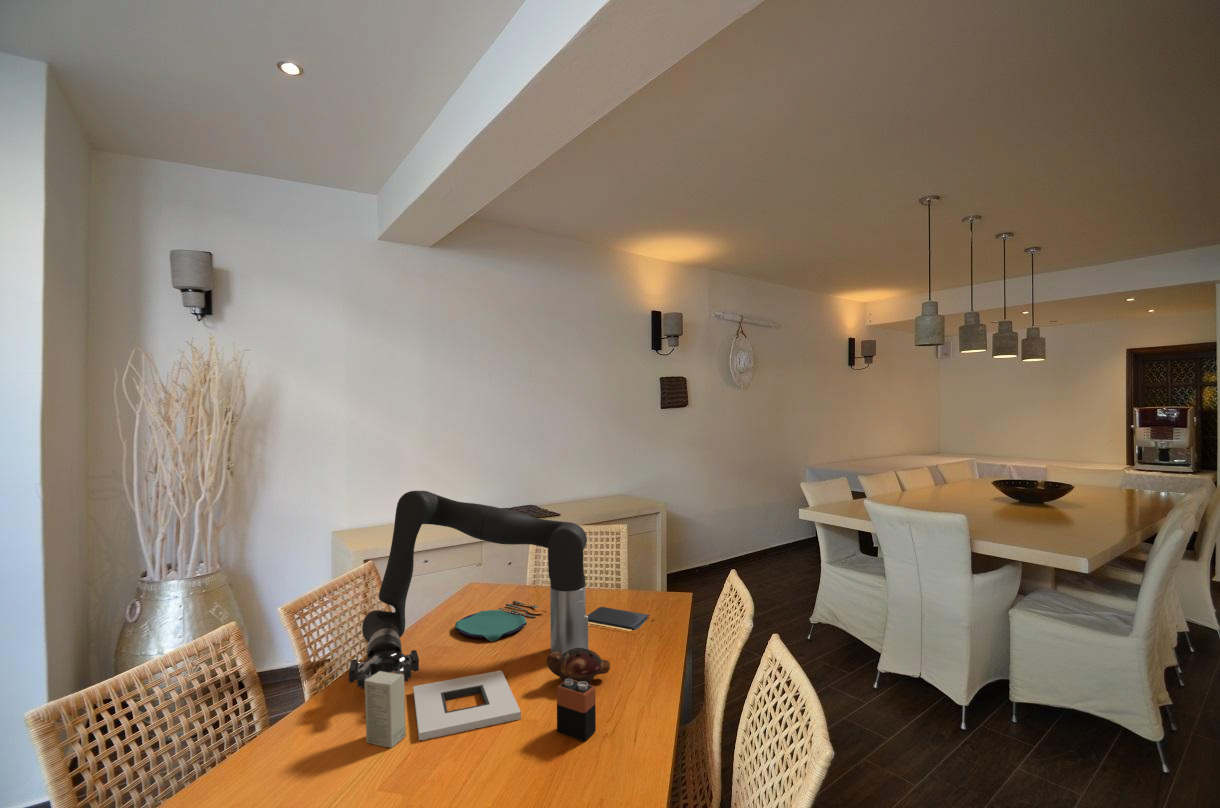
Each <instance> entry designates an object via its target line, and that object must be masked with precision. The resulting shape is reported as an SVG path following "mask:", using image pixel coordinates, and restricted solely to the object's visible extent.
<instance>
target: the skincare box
mask: <svg viewBox="0 0 1220 808" xmlns="http://www.w3.org/2000/svg"><path fill="white" fill-rule="evenodd" d="M405 698H406V695H405V681H404V673H400V674H397V673H394V672H383V671H379V672H377V673H376V674H374V675H372V676H371V677H369V678H368V679H366V680H365V686H364V699H365V700H364V701H365V702H364V703H365V729H366V730H365V732H366V735H365V736H366V737H365V738H366V740H365V741H366V743H367V744H370V743H371V745H375V746H380V747H385V748H390V749H391V748H394V746H396V745H397V744H398V743H399V742H401V740H403V739H404V738H405V737H406V736H407V731H406V728H407V727H406V699H405Z"/></svg>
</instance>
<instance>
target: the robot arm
mask: <svg viewBox="0 0 1220 808" xmlns="http://www.w3.org/2000/svg"><path fill="white" fill-rule="evenodd" d="M394 516H395V517H394V525H393V532H392V533H393V534H392V538H391V539H392V541H391V546H390V551H389V555H388V559H387V560H388V561H387V564H386V568H385V572H384V574H383V579H382V581H381V586H380V589H379V594H378V600H379V601H380V602H381V603H383V604H387V605H389V606H390V607H393V608H394V611H389V610H388V611H387V610H377V609H374V610H371V611H370V612H368V613H367V614H366V615H365V616H364V618H363V621H362V629H361V630H362V634H363V637H364V639H365V640H366V642H367V643H368V644H367V651H366V659H365V660H364V661H362V662H360V661H358V659H352V660H350V663H349V665H350V666H349V669H348V683H351V684H352V683H355V682H356V686H357V688H360V690H363V689H364V690H365V680H366V679H368V678H369V677H371V676H372V675H374V674H376V673H377V672H379V671H383V672H391V673H397V674H403V675H404V682H408V681H409V679H411V677H412V672H415V673H416V672H418V671H420V664H419V663H420V658H419V655H418V652H417V650H415V649H414V650H411V651H410V653H409V654H404V653H403V652H402V651H403V650H402V641H401V638H402V636H403V635H404V634H405V630H406V602H407V598H408V597H407V596H408V592H409V589H410V586H411V582H412V579H413V578H412V577H413V574H414V567H415V565H414V564H415V563H414V562H415V561H414V559H415V558H414V557H415V556H414V555H415V554H414V552H415V547H416V541H417V537H418V534H419V532H420V530H421V528H422V525H434V526H441V527H446V528H451V529H454V530H457V531H459V532H461V533H463V534H465V535H467V536H469V537H471V538H474V539H477V540H481V541H485V542H489V543H493V544H498V545H499V544H500V545H512V546H513V545H532V546H538V547H542V548H545V549H547V562H548V565H547V566H548V567H547V568H548V578H549V581H550V582H549V583H550V584H549V586H550V589H549V590H550V592H549V594H550V596H549V597H550V606H549V607H550V654H551V653H552V652H560V653H561V654H562V655H563V654H564V653H565V652H567V651H568V650H570V649H574V648H585V649H589V626H588V616H587V615H588V614H586V576H585V572H584V569H585V568H584V550H585V548H586V546H587V543H588V536H587V534H586V532H585V530H584V529H583V528H582V526H580V525H579V524H577V523H575V522H568V521H561V520H560V521H559V520H551V519H542V518H538V517H534V516H531V515H527V514H524V513H520V512H517V511H512V510H509V509H505V508H501V507H496V506H491V505H486V504H481V503H475V502H463V501H458V500H454V499H450V498H448V497H445V496H441V495H438V494H436V493H433V492H432V491H431V492H430V491H427V490H410V491H406V492H405V493H404V494H402V495H401V497H400V498H399V499H398V501H397V504H396V508H395V515H394Z"/></svg>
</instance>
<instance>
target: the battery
mask: <svg viewBox="0 0 1220 808" xmlns="http://www.w3.org/2000/svg"><path fill="white" fill-rule="evenodd" d="M596 716H597V715H596V686H594V685H588V683H587V682H578V681H575V680H572V679H565V682H563V681H562V683H560V684H559V685H558V686H557V687H556V731H557V733H558V734H561V735H563V736H567V737H570V738H572V739H576V740H578V741H581V742H586V741H587V740H588V739H589V738H590V737H591V736H592V735H593V734H595V732H596V730H597V729H596V727H597V726H596V721H597V720H596V718H597V717H596Z"/></svg>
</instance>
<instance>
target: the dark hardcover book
mask: <svg viewBox="0 0 1220 808" xmlns="http://www.w3.org/2000/svg"><path fill="white" fill-rule="evenodd" d="M586 615H587V616H588V624H591V625H596V626H602V627H609V628H614V629H619V630H625V631H632V630H637V629H639V628H640V627H641V626H642V624H644V622H645V621H646V620H647V619H648V618H649V617H648V616H650V615H649V614H646V613H641V612H635V611H630V610H623V609H618V608H612V607H605V606H599V607H597V608H596V609H595V611H594V610H593V611H592V612H590V613H589V614H586ZM647 617H648V618H647Z"/></svg>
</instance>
